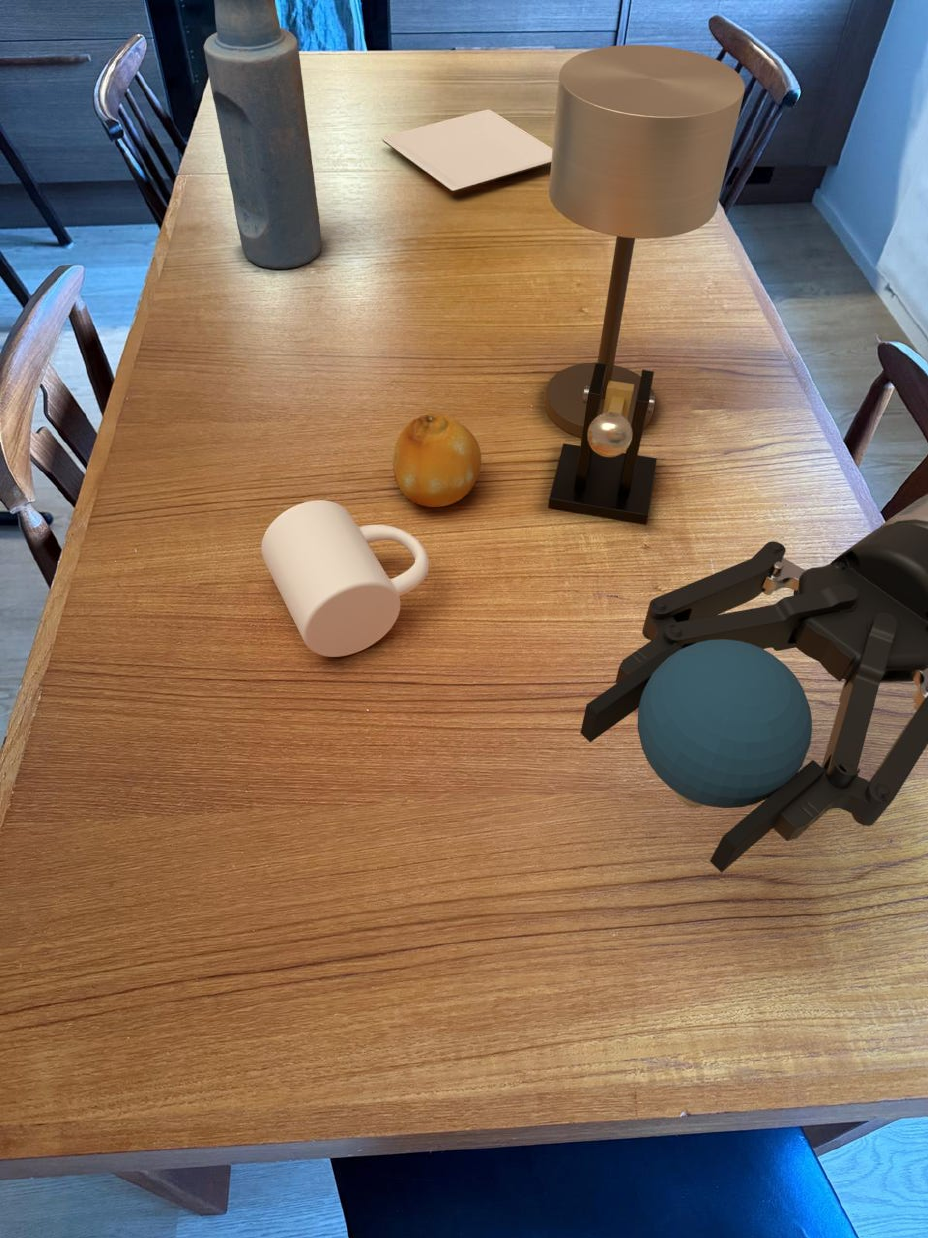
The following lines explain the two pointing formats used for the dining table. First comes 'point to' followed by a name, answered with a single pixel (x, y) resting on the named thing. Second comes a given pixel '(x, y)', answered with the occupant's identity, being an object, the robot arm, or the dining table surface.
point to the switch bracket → (607, 464)
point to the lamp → (635, 172)
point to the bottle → (264, 133)
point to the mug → (337, 576)
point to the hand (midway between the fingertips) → (652, 786)
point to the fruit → (436, 460)
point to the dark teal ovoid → (724, 724)
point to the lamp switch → (612, 422)
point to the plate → (470, 150)
